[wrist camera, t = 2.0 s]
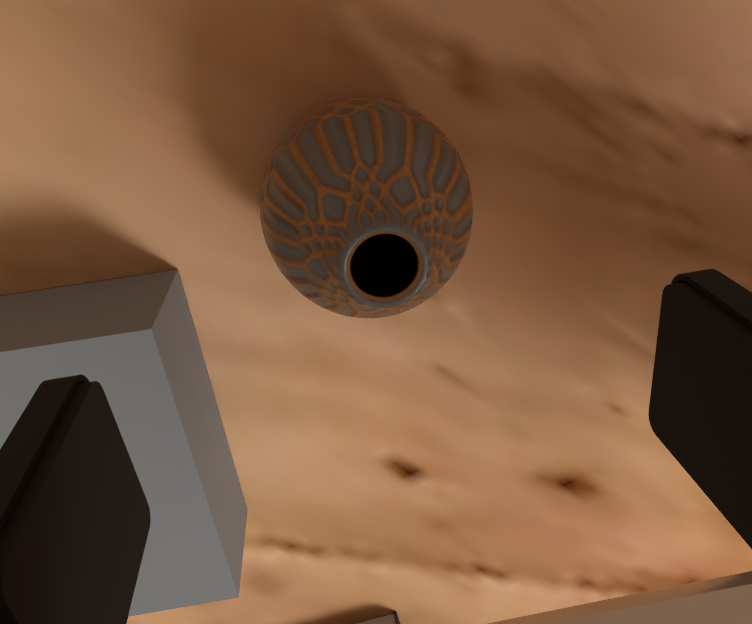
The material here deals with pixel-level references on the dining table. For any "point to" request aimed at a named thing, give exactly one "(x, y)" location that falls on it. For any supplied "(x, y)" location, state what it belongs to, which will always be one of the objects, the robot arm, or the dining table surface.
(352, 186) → the vase
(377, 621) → the notebook
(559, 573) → the dining table surface
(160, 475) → the slate block
